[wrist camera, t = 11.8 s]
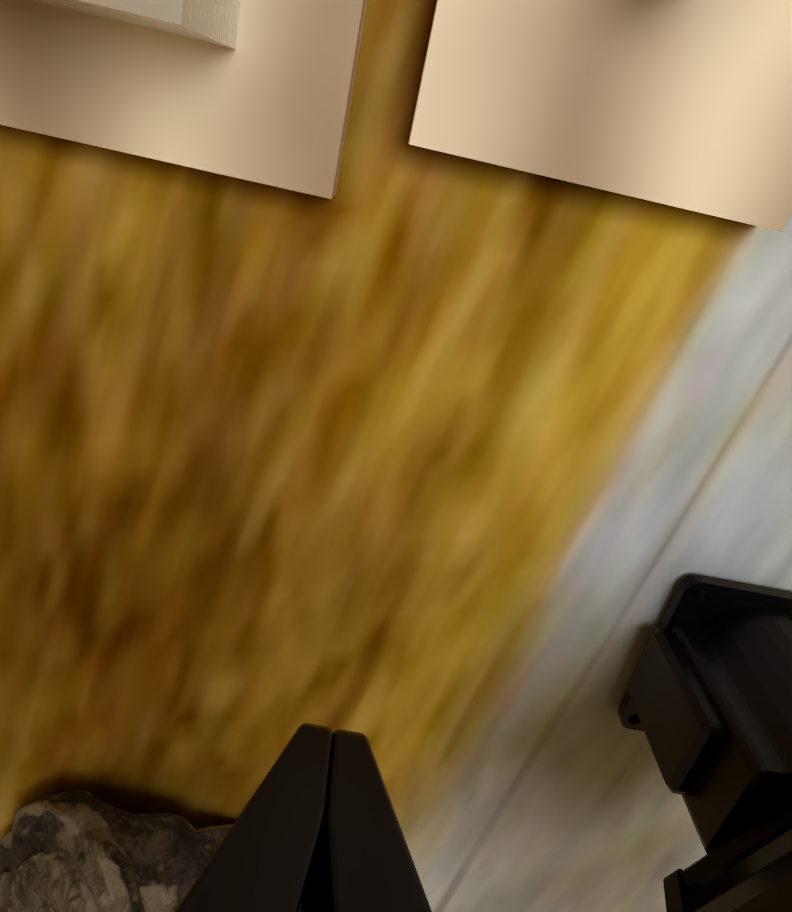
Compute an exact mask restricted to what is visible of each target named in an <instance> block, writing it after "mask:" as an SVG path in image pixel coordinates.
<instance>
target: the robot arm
mask: <svg viewBox="0 0 792 912" xmlns="http://www.w3.org/2000/svg"><path fill="white" fill-rule="evenodd" d="M697 589H700V591H699V592H697V593H695V594H691V593H692V592H693V591H694V590H697ZM633 714H635V715H633ZM618 715H619V718H620V720H621V723H622V725H623V726H624V727H625V728H628V729H633V730H639V731H645V734H646V736H647V739H648V741H649V744H650V746H651V749H652V751H653V754H654V756H655V759H656V761H657V764H658V766H659V769H660V771H661V773H662V776H663V778H664V781H665V783H666V785H667V786H668V788H669V789H670V791H671V792H672V793H676V794H682V797H683V799H684V801H685V804H686V806H687V808H688V811H689V813H690V816H691V818H692V820H693V823H694V825H695V827H696V830H697V832H698V834H699V837H700V839H701V842H702V844H703V846H704V849H705V851H706V853H707V855H706V856H704V857H703V858H701V859H699V860H698V861H696V862H695V863H693V864H692V865H690V866H689V867H687V868H686V869H684V870H682V869H677V870H676V871H674V872H673V873H671V874H670V875H668V876H667V877H665V878H664V881H663V882H664V891H665V900H666V909H667V912H792V592H787V591H782V590H777V589H771V588H766V587H760V586H755V585H749V584H744V583H739V582H733V581H728V580H722V579H717V578H711V577H706V576H700V575H692V576H689V577H687V578H685V579H684V580H682V581H681V583H680V584H679V585H678V587H677V589H676V591H675V593H674V595H673V597H672V599H671V601H670V604H669V606H668V608H667V610H666V612H665V614H664V616H663V618H662V620H661V622H660V624H659V626H658V628H657V630H656V631H655V632H654V633H653V634H652V635H651V637H650V639H649V641H648V643H647V645H646V648H645V650H644V652H643V654H642V656H641V658H640V660H639V662H638V664H637V666H636V668H635V670H634V672H633V674H632V676H631V678H630V680H629V682H628V684H627V691H626V693H625V695H624V697H623V699H622V702H621V704H620V706H619V708H618ZM175 912H432V911H431V908H430V906H429V903H428V900H427V898H426V895H425V892H424V890H423V887H422V884H421V881H420V879H419V876H418V873H417V871H416V868H415V865H414V863H413V860H412V857H411V854H410V852H409V849H408V846H407V844H406V841H405V838H404V836H403V833H402V830H401V827H400V825H399V822H398V819H397V817H396V814H395V811H394V809H393V806H392V803H391V800H390V798H389V795H388V792H387V790H386V787H385V784H384V782H383V779H382V776H381V773H380V771H379V768H378V765H377V763H376V760H375V757H374V755H373V752H372V749H371V747H370V744H369V741H368V739H367V737H366V736H365V735H364V734H362V733H358V732H352V731H347V730H341V729H338V730H336V731H335V732H334V733H333V732H332V729H331V728H329V727H325V726H320V725H314V724H309V723H304V724H302V725H301V726H300V727H299V728H298V729H297V731H296V732H295V734H294V735H293V737H292V738H291V740H290V741H289V743H288V744H287V746H286V747H285V749H284V750H283V752H282V753H281V755H280V756H279V758H278V759H277V760H276V762H275V763H274V765H273V766H272V768H271V769H270V771H269V772H268V774H267V775H266V777H265V778H264V780H263V781H262V783H261V784H260V786H259V787H258V789H257V790H256V792H255V793H254V795H253V796H252V798H251V799H250V801H249V802H248V804H247V805H246V807H245V808H244V809H243V811H242V812H241V814H240V815H239V817H238V818H237V820H236V821H235V823H234V824H233V826H232V827H231V829H230V830H229V832H228V833H227V835H226V836H225V838H224V839H223V841H222V842H221V844H220V845H219V847H218V848H217V850H216V851H215V853H214V854H213V855H212V857H211V858H210V860H209V861H208V863H207V864H206V866H205V867H204V869H203V870H202V872H201V873H200V875H199V876H198V878H197V879H196V881H195V882H194V884H193V885H192V887H191V888H190V890H189V891H188V893H187V894H186V896H185V897H184V899H183V900H182V902H181V903H180V904H179V906H178V907H177V909H176V910H175Z"/></svg>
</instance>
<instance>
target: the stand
mask: <svg viewBox="0 0 792 912" xmlns="http://www.w3.org/2000/svg"><path fill="white" fill-rule="evenodd" d="M408 143H409V144H410V145H414V146H418V147H423V148H427V149H431V150H435V151H440V152H444V153H448V154H452V155H457V156H461V157H465V158H469V159H474V160H478V161H482V162H487V163H491V164H495V165H499V166H504V167H508V168H512V169H516V170H521V171H525V172H529V173H533V174H538V175H542V176H546V177H550V178H555V179H559V180H563V181H567V182H572V183H576V184H580V185H584V186H589V187H593V188H597V189H601V190H606V191H610V192H614V193H618V194H623V195H627V196H631V197H635V198H640V199H644V200H648V201H652V202H657V203H661V204H665V205H669V206H674V207H678V208H682V209H686V210H691V211H695V212H699V213H703V214H708V215H712V216H716V217H720V218H725V219H729V220H733V221H737V222H742V223H746V224H750V225H755V226H759V227H763V228H767V229H772V230H776V231H780V232H782V231H783V229H784V227H785V224H786V222H787V220H788V218H789V215H790V213H791V211H792V0H437V2H436V7H435V12H434V17H433V22H432V27H431V32H430V37H429V42H428V47H427V52H426V57H425V62H424V67H423V72H422V77H421V82H420V87H419V92H418V97H417V102H416V107H415V112H414V116H413V121H412V126H411V131H410V136H409V141H408Z"/></svg>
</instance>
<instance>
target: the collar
mask: <svg viewBox="0 0 792 912" xmlns="http://www.w3.org/2000/svg"><path fill="white" fill-rule="evenodd" d="M29 1H33V2H38V3H42V4H46V5H50V6H54V7H59V8H63V9H67V10H71V11H75V12H80V13H84V14H88V15H92V16H96V17H101V18H105V19H109V20H113V21H117V22H122V23H126V24H130V25H134V26H138V27H142V28H147V29H151V30H155V31H159V32H163V33H168V34H172V35H176V36H180V37H184V38H189V39H193V40H197V41H201V42H205V43H210V44H214V45H218V46H222V47H226V48H231V49H235V50H236V42H237V31H238V20H239V9H240V0H29Z"/></svg>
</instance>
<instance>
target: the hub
mask: <svg viewBox="0 0 792 912" xmlns="http://www.w3.org/2000/svg"><path fill="white" fill-rule="evenodd" d="M366 6H367V0H240V9H239V20H238V31H237V42H236V50H235V49H231V48H226V47H222V46H218V45H214V44H210V43H205V42H201V41H197V40H193V39H189V38H184V37H180V36H176V35H172V34H168V33H163V32H159V31H155V30H151V29H147V28H142V27H138V26H134V25H130V24H126V23H122V22H117V21H113V20H109V19H105V18H101V17H96V16H92V15H88V14H84V13H80V12H75V11H71V10H67V9H63V8H59V7H54V6H50V5H46V4H42V3H38V2H33V1H29V0H0V125H4V126H9V127H13V128H18V129H22V130H26V131H31V132H35V133H40V134H44V135H49V136H53V137H57V138H62V139H66V140H71V141H75V142H80V143H84V144H89V145H93V146H97V147H102V148H106V149H111V150H115V151H120V152H124V153H128V154H133V155H137V156H142V157H146V158H151V159H155V160H160V161H164V162H168V163H173V164H177V165H182V166H186V167H191V168H195V169H200V170H204V171H208V172H213V173H217V174H222V175H226V176H231V177H235V178H239V179H244V180H248V181H253V182H257V183H262V184H266V185H271V186H275V187H279V188H284V189H288V190H293V191H297V192H302V193H306V194H310V195H315V196H319V197H324V198H328V199H332V198H333V197H334V196H335V195H336V190H337V184H338V178H339V172H340V165H341V159H342V153H343V147H344V141H345V135H346V129H347V122H348V116H349V110H350V104H351V98H352V92H353V86H354V79H355V73H356V67H357V61H358V55H359V49H360V43H361V36H362V30H363V24H364V18H365V12H366Z"/></svg>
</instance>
